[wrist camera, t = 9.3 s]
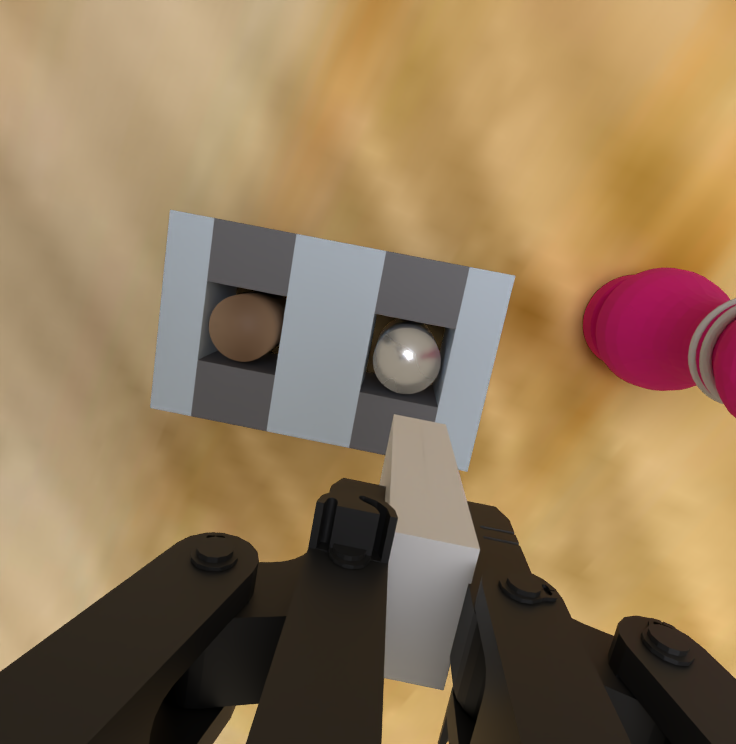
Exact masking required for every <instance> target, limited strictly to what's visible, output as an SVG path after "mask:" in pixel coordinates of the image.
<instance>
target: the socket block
mask: <svg viewBox="0 0 736 744" xmlns="http://www.w3.org/2000/svg"><path fill="white" fill-rule="evenodd" d="M514 279H515V276H514V275H508V274H503V273H498V272H493V271H488V270H482V269H477V268H472V267H467V266H461V265H456V264H451V263H446V262H441V261H435V260H430V259H425V258H420V257H414V256H409V255H404V254H399V253H394V252H388V251H383V250H378V249H373V248H367V247H362V246H357V245H352V244H347V243H341V242H336V241H331V240H326V239H320V238H315V237H310V236H305V235H300V234H294V233H289V232H284V231H279V230H273V229H268V228H263V227H258V226H253V225H247V224H242V223H237V222H232V221H226V220H221V219H216V218H211V217H206V216H200V215H195V214H190V213H185V212H179V211H174V210H170V216H169V226H168V236H167V246H166V256H165V266H164V276H163V286H162V296H161V306H160V315H159V325H158V335H157V345H156V355H155V365H154V375H153V385H152V395H151V405H150V408H153V409H158V410H163V411H168V412H173V413H178V414H183V415H188V416H193V417H198V418H203V419H208V420H213V421H218V422H223V423H228V424H233V425H238V426H243V427H248V428H253V429H258V430H263V431H268V432H273V433H278V434H283V435H288V436H293V437H298V438H303V439H308V440H313V441H318V442H323V443H328V444H333V445H338V446H343V447H348V448H353V449H358V450H363V451H368V452H373V453H377V454H382V455H386V450H387V445H388V440H389V435H390V431H391V426H392V421H393V416H394V414H395V415H400V416H405V417H411V418H416V419H421V420H426V421H431V422H436V423H441V424H446V427H447V431H448V434H449V438H450V442H451V445H452V449H453V453H454V456H455V460H456V463H457V467H458V470H462V471H468V467H469V463H470V459H471V455H472V451H473V447H474V442H475V438H476V434H477V430H478V426H479V422H480V418H481V414H482V410H483V406H484V402H485V397H486V393H487V389H488V385H489V381H490V377H491V373H492V369H493V365H494V361H495V357H496V352H497V348H498V344H499V340H500V336H501V332H502V328H503V324H504V320H505V316H506V312H507V307H508V303H509V299H510V295H511V291H512V287H513V283H514ZM237 287H240V288H245V289H251V290H256V291H261V292H266V293H271V294H276V295H281V296H287V300H286V307H285V313H284V320H283V326H282V333H281V339H280V346H279V352H278V354H274V353H269V352H267V353H266V354H264V355H263V356H261V357H260V358H258V359H255V360H252V361H247V362H240V361H235V360H232V359H230V358H228V357H226V356H224V355H223V354H222V353H221V352H220V351H219V350H218V349H217V348H216V347H215V345H214V344H213V342H212V340H211V337H210V333H209V320H210V316H211V314H212V311H213V310H214V308H215V307H216V306H217V304H218V303H220V302H221V301H222V300H224V299H225V298H227V297H230V296H234V295H236V292H237ZM377 314H379V315H384V316H389V317H395V318H400V319H405V320H410V321H415V322H420V323H425V324H431V325H436V326H441V327H445V330H444V334H443V339H442V343H441V348H440V357H441V364H440V369H439V373H438V375H437V377H436V378H435V380H434V381H433V384H432V385H431V384H430V385H429V386H428V387H427V388H425V389H424V390H422V391H420V392H417V393H413V394H401V393H397V392H394V391H391V390H390V389H388V388H387V387H385V386H384V385H383V384H382V383H381V382H380V381H379V379H378V377H377V376H376V374H375V373H370V372H366V370H367V365H368V360H369V354H370V349H371V344H372V339H373V334H374V328H375V323H376V318H377Z"/></svg>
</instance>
